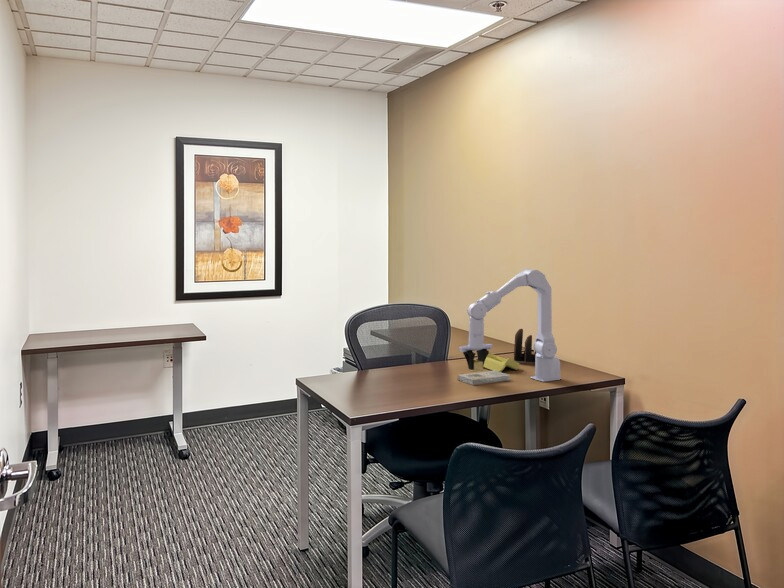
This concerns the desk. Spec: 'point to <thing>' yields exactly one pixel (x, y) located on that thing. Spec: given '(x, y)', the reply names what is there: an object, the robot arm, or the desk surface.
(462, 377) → the grey stone slab
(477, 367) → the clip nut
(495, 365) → the yellow curved piece
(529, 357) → the letter holder
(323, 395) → the desk surface
